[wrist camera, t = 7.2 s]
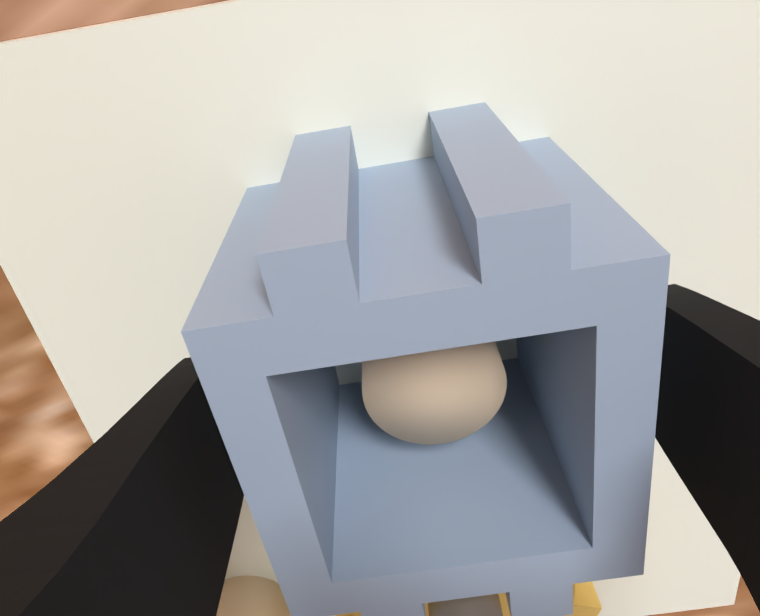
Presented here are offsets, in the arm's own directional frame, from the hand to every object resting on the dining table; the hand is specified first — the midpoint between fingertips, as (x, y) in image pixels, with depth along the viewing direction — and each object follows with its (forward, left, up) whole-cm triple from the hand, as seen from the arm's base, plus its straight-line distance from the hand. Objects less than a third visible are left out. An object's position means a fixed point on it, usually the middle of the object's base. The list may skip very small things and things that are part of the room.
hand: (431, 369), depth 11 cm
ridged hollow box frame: (0, 0, -2) cm, 2 cm away
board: (-3, 0, -3) cm, 5 cm away
